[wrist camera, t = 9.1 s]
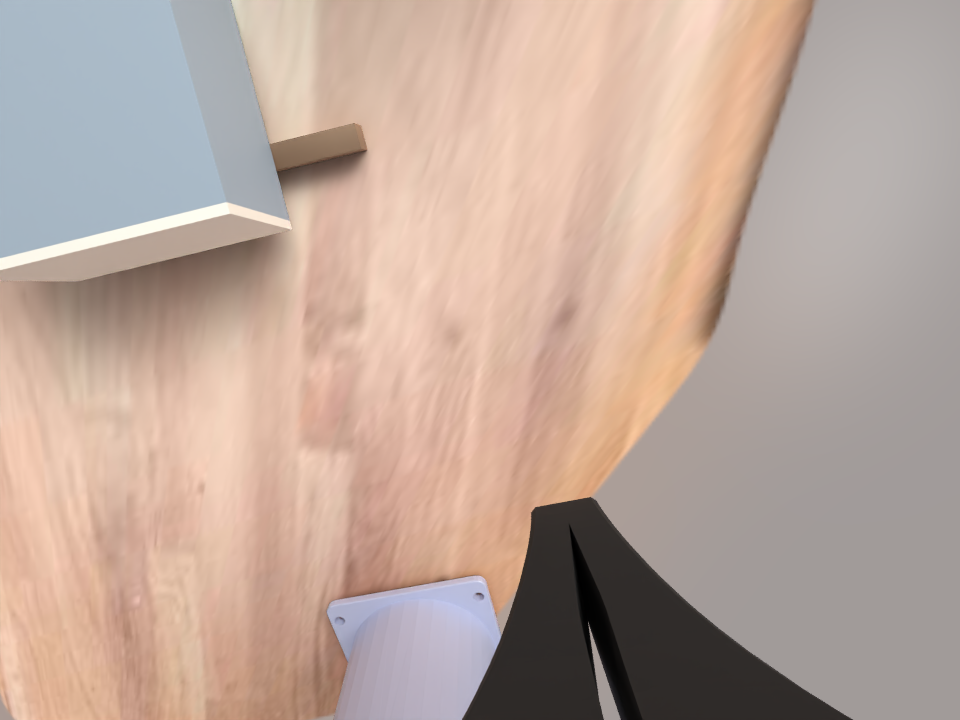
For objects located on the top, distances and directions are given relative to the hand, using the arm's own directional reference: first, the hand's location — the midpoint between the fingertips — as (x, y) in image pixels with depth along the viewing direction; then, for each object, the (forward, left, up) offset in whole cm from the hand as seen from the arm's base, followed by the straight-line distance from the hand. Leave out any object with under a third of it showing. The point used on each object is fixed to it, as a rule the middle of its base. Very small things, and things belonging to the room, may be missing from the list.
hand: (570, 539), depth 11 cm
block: (+8, +11, -7) cm, 15 cm away
